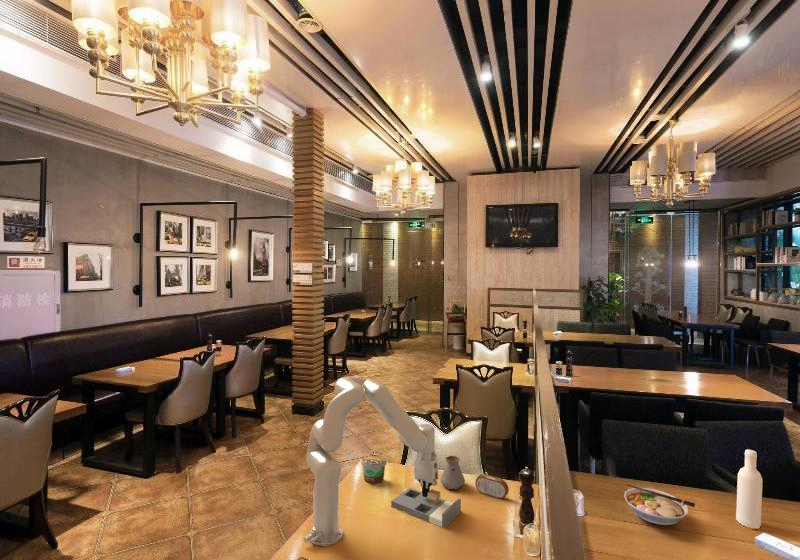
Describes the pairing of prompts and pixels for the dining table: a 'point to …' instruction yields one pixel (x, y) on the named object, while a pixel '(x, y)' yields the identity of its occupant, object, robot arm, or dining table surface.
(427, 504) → the board
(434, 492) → the block
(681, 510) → the ramen bowl
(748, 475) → the bottle
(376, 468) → the food container
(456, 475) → the coffee pot
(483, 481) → the tin
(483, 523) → the dining table surface
